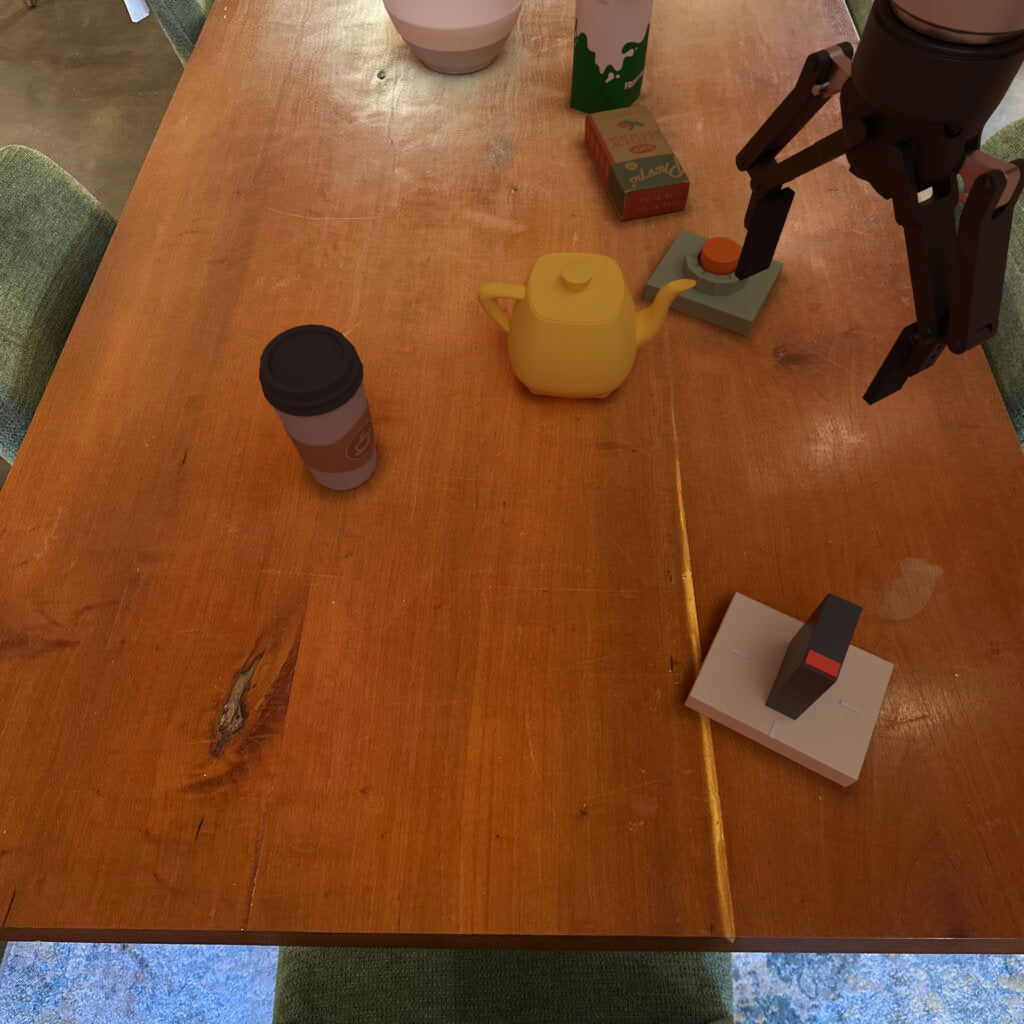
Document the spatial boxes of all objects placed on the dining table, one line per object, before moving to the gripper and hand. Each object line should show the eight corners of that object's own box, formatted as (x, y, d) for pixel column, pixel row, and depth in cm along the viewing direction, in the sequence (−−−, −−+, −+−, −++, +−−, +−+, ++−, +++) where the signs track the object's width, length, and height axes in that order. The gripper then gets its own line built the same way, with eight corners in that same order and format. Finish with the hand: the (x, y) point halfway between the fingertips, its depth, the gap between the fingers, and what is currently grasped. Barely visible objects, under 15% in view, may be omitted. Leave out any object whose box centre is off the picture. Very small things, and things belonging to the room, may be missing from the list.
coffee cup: (355, 515, 70) (316, 413, 58) (283, 479, 73) (230, 373, 60) (404, 450, 74) (378, 341, 61) (335, 418, 76) (295, 306, 63)
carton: (643, 134, 100) (648, 102, 96) (686, 211, 92) (693, 180, 88) (582, 144, 99) (584, 112, 95) (620, 223, 91) (624, 191, 87)
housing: (778, 278, 85) (788, 249, 82) (747, 336, 81) (756, 308, 77) (678, 244, 89) (684, 215, 85) (643, 299, 84) (648, 270, 81)
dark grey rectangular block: (790, 640, 61) (829, 590, 53) (820, 654, 60) (864, 606, 52) (764, 705, 58) (801, 663, 50) (795, 720, 57) (837, 680, 49)
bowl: (383, 92, 106) (373, 29, 99) (399, 19, 116) (391, -43, 109) (523, 92, 105) (523, 29, 98) (527, 19, 115) (527, -44, 108)
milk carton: (590, 77, 107) (601, -94, 90) (649, 94, 104) (672, -78, 87) (560, 109, 103) (566, -63, 86) (621, 128, 100) (640, -46, 83)
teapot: (676, 421, 75) (701, 330, 65) (475, 410, 76) (467, 319, 66) (673, 322, 82) (694, 226, 72) (489, 313, 83) (483, 217, 73)
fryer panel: (882, 673, 62) (895, 662, 59) (845, 789, 57) (858, 781, 55) (729, 603, 65) (737, 589, 63) (683, 706, 61) (689, 695, 58)
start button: (742, 257, 82) (746, 244, 80) (729, 280, 80) (733, 267, 79) (707, 245, 83) (711, 232, 81) (693, 267, 81) (696, 254, 80)
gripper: (729, -81, 40) (666, 244, 59) (1135, 174, 29) (901, 478, 47) (838, -114, 42) (743, 211, 60) (1259, 114, 31) (987, 429, 49)
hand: (812, 329), depth 54 cm, fingers open, 13 cm apart
